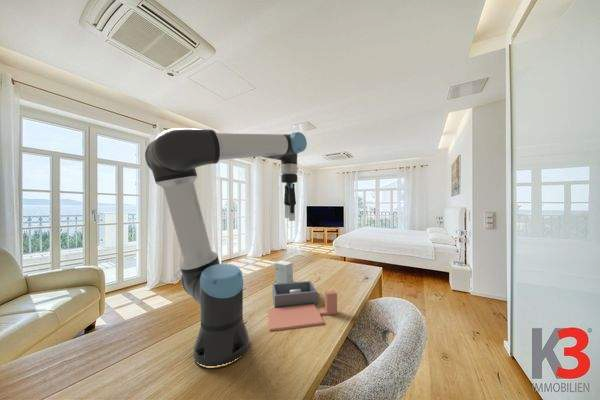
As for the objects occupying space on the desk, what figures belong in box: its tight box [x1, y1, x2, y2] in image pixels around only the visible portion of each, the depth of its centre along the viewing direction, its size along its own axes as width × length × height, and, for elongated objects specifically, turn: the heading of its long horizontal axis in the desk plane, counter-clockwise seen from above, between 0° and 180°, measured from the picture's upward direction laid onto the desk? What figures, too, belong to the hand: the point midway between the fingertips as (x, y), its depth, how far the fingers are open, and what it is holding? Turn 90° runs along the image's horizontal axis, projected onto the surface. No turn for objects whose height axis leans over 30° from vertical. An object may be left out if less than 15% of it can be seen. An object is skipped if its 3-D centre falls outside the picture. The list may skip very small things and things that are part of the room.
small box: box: [274, 260, 294, 284], centre depth 112 cm, size 8×6×10 cm
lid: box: [267, 290, 338, 332], centre depth 79 cm, size 26×13×8 cm, turn 102°
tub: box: [272, 280, 318, 308], centre depth 92 cm, size 18×12×5 cm, turn 102°
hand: (289, 219), depth 98 cm, fingers open, 13 cm apart
